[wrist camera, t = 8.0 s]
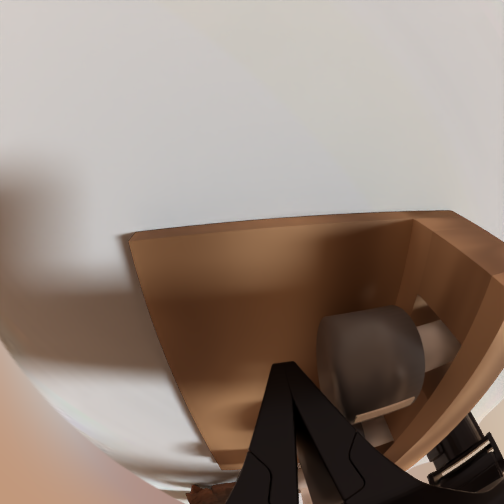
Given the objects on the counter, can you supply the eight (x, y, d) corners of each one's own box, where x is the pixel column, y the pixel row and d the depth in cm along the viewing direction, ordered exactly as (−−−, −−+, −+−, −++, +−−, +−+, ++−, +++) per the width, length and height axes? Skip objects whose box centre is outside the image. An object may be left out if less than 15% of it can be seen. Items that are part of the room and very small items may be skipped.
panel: (451, 210, 9) (550, 277, 4) (360, 441, 19) (376, 491, 14) (135, 232, 9) (51, 359, 4) (221, 462, 19) (223, 518, 13)
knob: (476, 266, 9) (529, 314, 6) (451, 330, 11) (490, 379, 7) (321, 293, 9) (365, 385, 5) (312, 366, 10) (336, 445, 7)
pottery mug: (167, 477, 23) (167, 522, 15) (216, 437, 25) (226, 484, 17) (240, 508, 24) (253, 547, 16) (287, 473, 26) (311, 511, 18)
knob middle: (431, 369, 12) (460, 416, 9) (410, 403, 14) (431, 445, 10) (306, 404, 12) (322, 470, 8) (300, 433, 13) (312, 487, 10)
